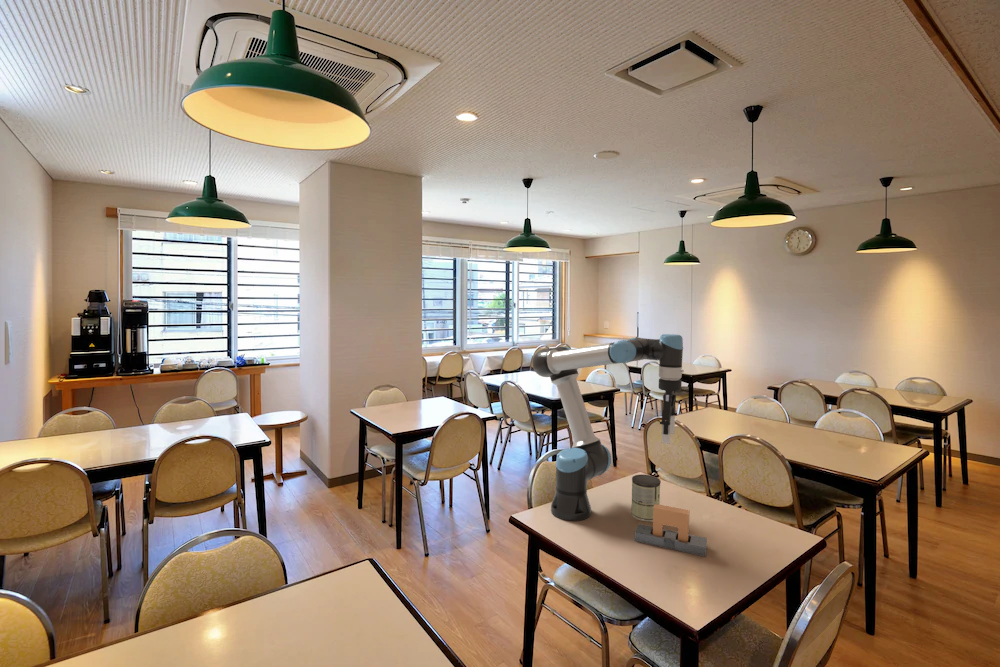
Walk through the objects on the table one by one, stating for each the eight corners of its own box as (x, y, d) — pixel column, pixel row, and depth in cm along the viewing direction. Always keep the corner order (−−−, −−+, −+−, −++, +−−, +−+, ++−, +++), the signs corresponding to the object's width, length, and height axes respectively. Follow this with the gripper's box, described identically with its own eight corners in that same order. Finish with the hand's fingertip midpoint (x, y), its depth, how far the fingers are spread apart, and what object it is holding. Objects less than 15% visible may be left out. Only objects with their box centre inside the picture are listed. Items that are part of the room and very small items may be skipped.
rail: (634, 541, 161) (634, 532, 161) (638, 532, 167) (638, 523, 167) (705, 556, 151) (705, 547, 151) (706, 546, 158) (706, 538, 157)
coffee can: (628, 509, 186) (629, 473, 185) (655, 510, 185) (657, 474, 184) (633, 521, 176) (634, 483, 175) (662, 522, 174) (663, 485, 174)
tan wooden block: (652, 542, 160) (653, 507, 159) (653, 537, 163) (655, 503, 162) (687, 550, 155) (688, 514, 154) (688, 545, 158) (689, 510, 158)
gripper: (677, 384, 154) (675, 449, 155) (684, 374, 176) (682, 430, 178) (653, 383, 157) (651, 446, 159) (663, 373, 179) (661, 428, 181)
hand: (668, 438), depth 168 cm, fingers open, 13 cm apart
